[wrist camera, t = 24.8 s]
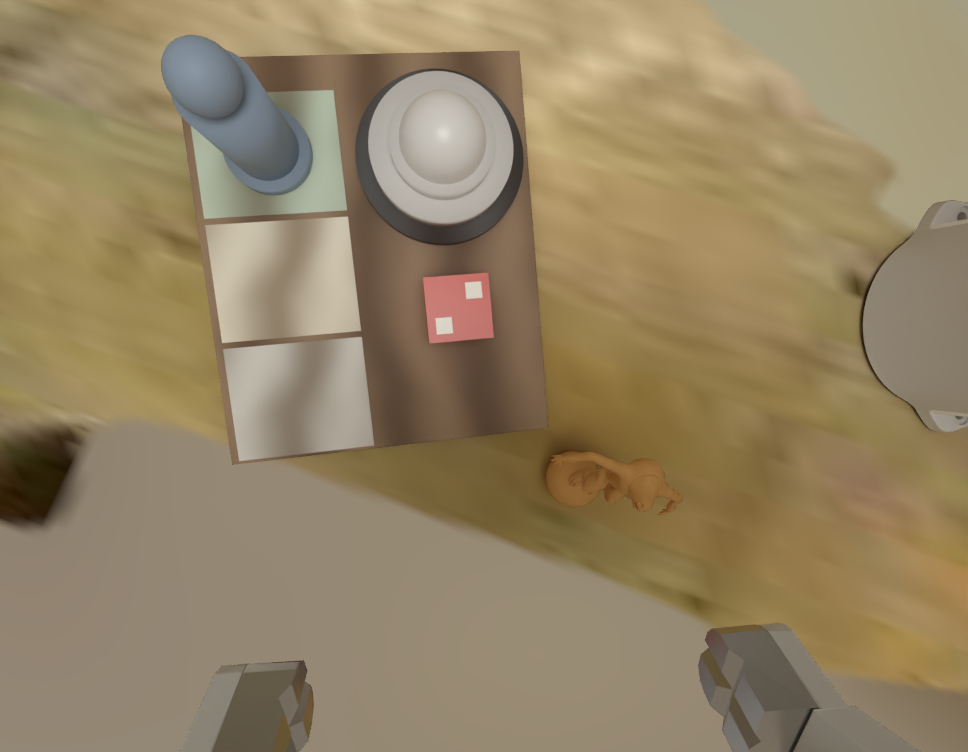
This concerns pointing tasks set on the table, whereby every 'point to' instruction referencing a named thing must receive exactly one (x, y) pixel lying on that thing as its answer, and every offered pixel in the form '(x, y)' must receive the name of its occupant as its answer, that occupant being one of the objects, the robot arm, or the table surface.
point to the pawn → (236, 115)
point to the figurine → (607, 481)
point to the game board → (362, 278)
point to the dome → (440, 148)
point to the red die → (458, 307)
